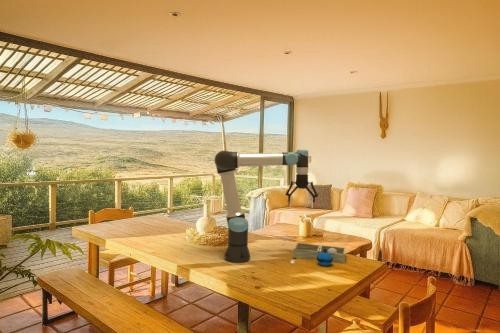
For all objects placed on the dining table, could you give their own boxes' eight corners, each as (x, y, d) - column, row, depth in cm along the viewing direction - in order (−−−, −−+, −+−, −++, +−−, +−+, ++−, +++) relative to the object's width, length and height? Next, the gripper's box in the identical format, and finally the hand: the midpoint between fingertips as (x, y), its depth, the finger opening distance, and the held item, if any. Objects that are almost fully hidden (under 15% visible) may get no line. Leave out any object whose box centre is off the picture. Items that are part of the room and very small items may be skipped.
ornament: (335, 266, 188) (335, 248, 188) (327, 270, 182) (328, 251, 181) (321, 262, 194) (322, 245, 194) (313, 266, 188) (314, 248, 187)
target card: (304, 265, 189) (304, 264, 189) (290, 263, 191) (290, 262, 191) (305, 261, 195) (305, 260, 195) (292, 260, 197) (292, 259, 197)
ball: (337, 260, 197) (337, 249, 196) (326, 258, 198) (327, 248, 198) (337, 257, 202) (337, 247, 202) (327, 255, 204) (327, 246, 204)
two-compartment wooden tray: (344, 265, 191) (345, 254, 191) (292, 258, 200) (293, 249, 199) (345, 257, 205) (345, 247, 205) (296, 252, 214) (296, 242, 214)
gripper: (322, 174, 212) (321, 207, 213) (283, 173, 218) (282, 205, 219) (321, 174, 205) (321, 209, 206) (281, 173, 211) (281, 207, 212)
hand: (301, 207), depth 212 cm, fingers open, 13 cm apart
